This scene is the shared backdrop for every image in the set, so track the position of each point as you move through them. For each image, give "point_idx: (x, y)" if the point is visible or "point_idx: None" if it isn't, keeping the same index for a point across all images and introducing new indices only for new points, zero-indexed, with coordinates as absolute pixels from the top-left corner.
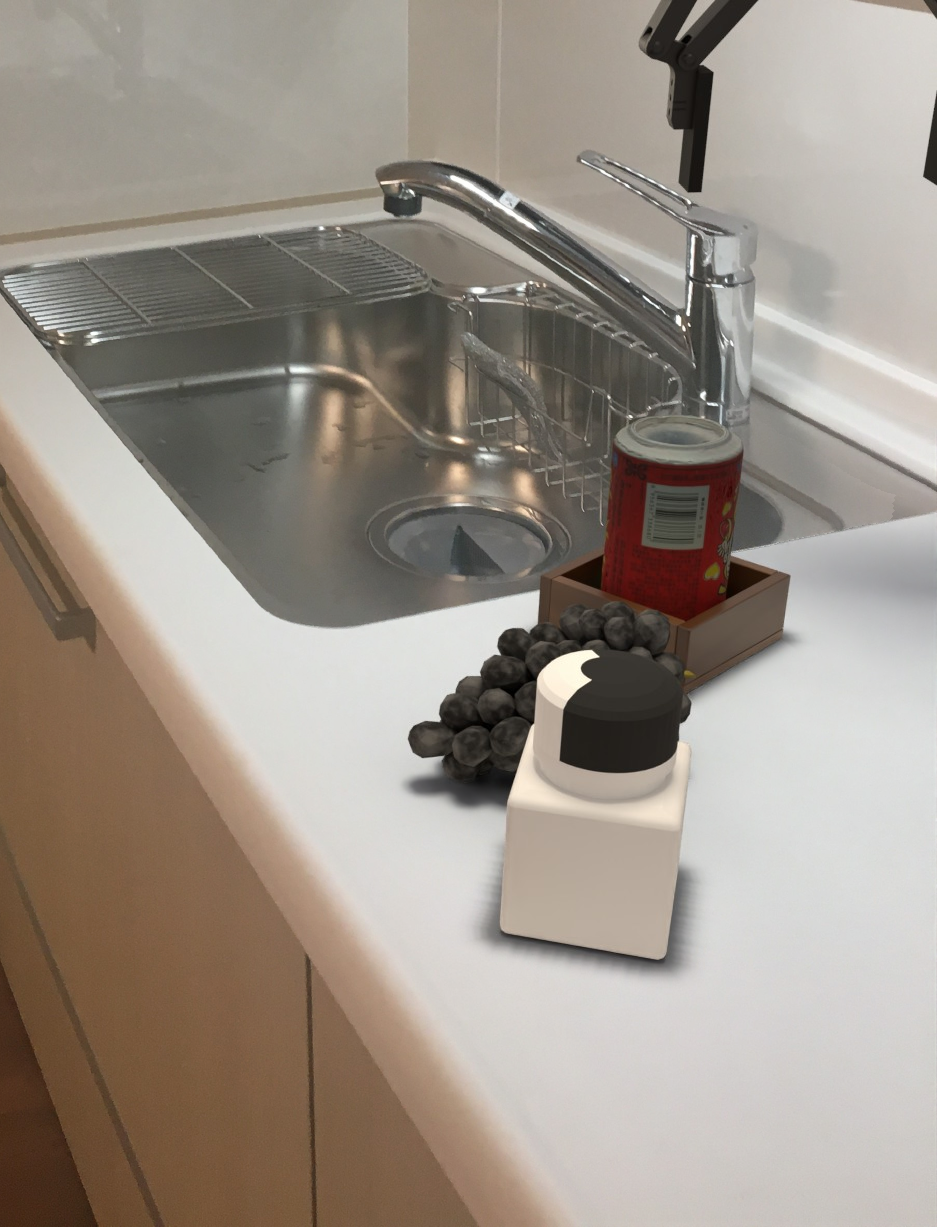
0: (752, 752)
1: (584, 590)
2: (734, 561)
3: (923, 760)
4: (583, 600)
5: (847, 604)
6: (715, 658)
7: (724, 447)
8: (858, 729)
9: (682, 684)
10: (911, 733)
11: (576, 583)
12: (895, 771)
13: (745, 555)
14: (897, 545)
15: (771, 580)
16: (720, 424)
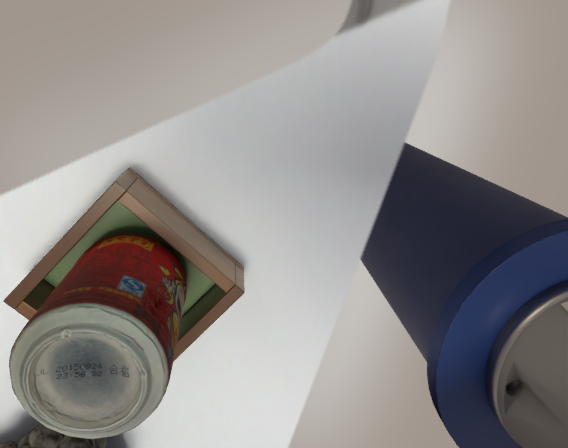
0: (184, 429)
1: None
2: (197, 265)
3: (293, 430)
4: None
5: (316, 202)
6: None
7: (137, 417)
8: (263, 397)
9: None
10: (297, 400)
11: None
12: (271, 443)
13: (249, 90)
14: (407, 65)
15: (224, 305)
16: (139, 366)
